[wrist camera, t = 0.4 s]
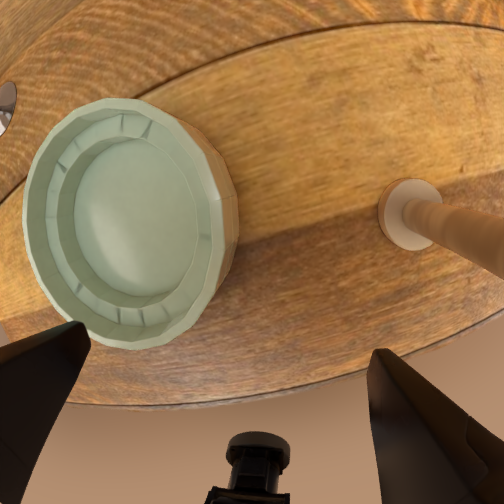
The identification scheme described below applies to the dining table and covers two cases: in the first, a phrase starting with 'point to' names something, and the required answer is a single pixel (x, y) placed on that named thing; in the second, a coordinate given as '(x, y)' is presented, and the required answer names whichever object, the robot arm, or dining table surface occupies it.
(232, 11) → the dining table surface
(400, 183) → the beige piece
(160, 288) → the bowl
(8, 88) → the wine glass
